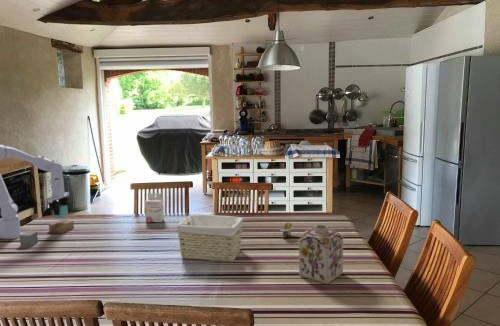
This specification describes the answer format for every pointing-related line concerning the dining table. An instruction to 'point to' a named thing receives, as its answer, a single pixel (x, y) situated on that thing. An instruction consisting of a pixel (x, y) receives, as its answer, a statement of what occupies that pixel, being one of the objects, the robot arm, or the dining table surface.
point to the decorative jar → (321, 254)
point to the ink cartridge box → (154, 208)
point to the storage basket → (210, 237)
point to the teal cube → (61, 212)
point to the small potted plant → (286, 229)
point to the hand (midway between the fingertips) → (60, 213)
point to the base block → (61, 226)
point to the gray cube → (28, 238)
